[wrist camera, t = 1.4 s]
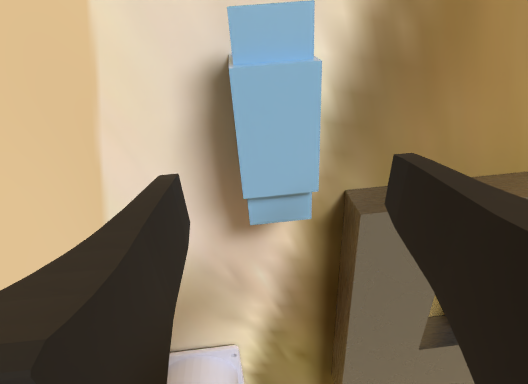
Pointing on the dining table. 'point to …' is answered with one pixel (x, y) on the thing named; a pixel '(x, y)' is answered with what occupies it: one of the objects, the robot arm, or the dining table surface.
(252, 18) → the servo
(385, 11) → the dining table surface
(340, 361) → the chassis
